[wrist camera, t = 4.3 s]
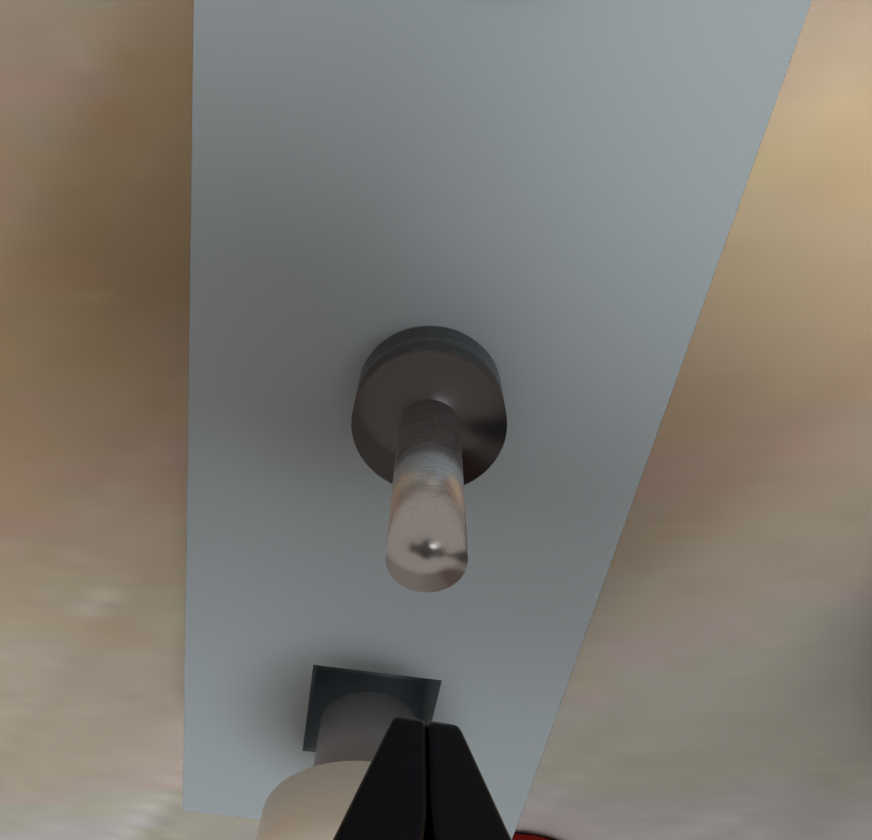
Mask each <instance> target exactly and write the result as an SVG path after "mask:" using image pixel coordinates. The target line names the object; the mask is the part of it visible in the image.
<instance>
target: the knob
mask: <svg viewBox="0 0 872 840" xmlns="http://www.w3.org/2000/svg"><path fill="white" fill-rule="evenodd" d="M396 716H403V717H409V718H415V716H414V714H413V712H412V711H411V709H410V708H409V707H408V706H407V705H405V704H404V703H403V702H401V701H400V700H398V699H396V698H394V697H391V696H389V695H385V694H382V693H376V692H358V693H352V694H348V695H345V696H343V697H340V698H338V699H337V700H335V701H333V702H332V703H331V704H330V705H329V706H328V707H327V708H326V709H325V711H324V712H323V715H322V718H321V722H320V728H319V734H318V740H317V747H316V753H315V759H314V765H313V767H310V768H307V769H304V770H302V771H300V772H297V773H295V774H294V775H292V776H290V777H288V778H287V779H285V780H284V781H283V782H281V783H280V784H279V785H278V786H277V787H276V788H275V789H274V790H273V791H272V792H271V793H270V795H269V796H268V798H267V799H266V802H265V804H264V806H263V811H262V815H261V820H260V824H259V829H258V833H257V838H256V840H333V838H334V836H335V834H336V832H337V830H338V828H339V826H340V824H341V822H342V820H343V818H344V816H345V814H346V812H347V810H348V808H349V806H350V804H351V802H352V800H353V798H354V796H355V794H356V791H357V789H358V787H359V785H360V783H361V781H362V779H363V777H364V775H365V773H366V771H367V769H368V767H369V765H370V763H371V761H372V759H373V757H374V755H375V753H376V751H377V749H378V747H379V745H380V743H381V741H382V739H383V736H384V734H385V732H386V730H387V728H388V726H389V724H390V722H391V721H392V719H393V718H394V717H396Z"/></svg>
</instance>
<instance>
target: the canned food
mask: <svg viewBox="0 0 872 840" xmlns="http://www.w3.org/2000/svg"><path fill="white" fill-rule="evenodd" d="M512 840H550V839H547V838H543V837H538V836H534V835H527V834H515V833H514V835H513V838H512Z"/></svg>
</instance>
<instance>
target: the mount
mask: <svg viewBox="0 0 872 840" xmlns="http://www.w3.org/2000/svg"><path fill="white" fill-rule="evenodd" d="M811 1H812V0H194V24H193V98H192V172H191V246H190V319H189V393H188V467H187V541H186V615H185V688H184V762H183V811H188V812H197V813H207V814H216V815H226V816H235V817H245V818H254V819H261V815H262V811H263V806H264V804H265V802H266V799H267V798H268V796H269V795H270V793H271V792H272V791H273V790H274V789H275V788H276V787H277V786H278V785H279V784H280V783H281V782H283V781H284V780H285V779H287V778H288V777H290V776H292V775H294V774H295V773H297V772H300V771H302V770H304V769H307V768H310V767H313V765H314V759H315V753H316V747H317V740H318V734H319V728H320V722H321V718H322V715H323V712H324V711H325V709H326V708H327V707H328V706H329V705H330V704H331V703H332V702H333V701H335V700H337V699H338V698H340V697H343V696H345V695H348V694H352V693H358V692H376V693H382V694H385V695H389V696H391V697H394V698H396V699H398V700H400V701H401V702H403V703H404V704H405V705H407V706H408V707H409V708H410V709H411V711H412V712H413V714H414V716H415V718H416V719H421V720H423V721H424V722H425V725H426V724H427V723H428V722H430V721H435V722H441V723H448V724H454V725H456V726H458V727H459V728H460V730H461V731H462V733H463V735H464V737H465V740H466V742H467V744H468V746H469V748H470V751H471V753H472V755H473V757H474V759H475V761H476V764H477V766H478V768H479V770H480V772H481V774H482V777H483V779H484V781H485V783H486V785H487V788H488V790H489V792H490V794H491V796H492V798H493V801H494V803H495V805H496V807H497V809H498V811H499V814H500V816H501V818H502V820H503V822H504V825H505V827H506V829H507V831H508V833H509V835H510V838H511V840H512V838H513V835H514V833H515V830H516V827H517V824H518V821H519V819H520V816H521V813H522V810H523V807H524V805H525V802H526V799H527V796H528V793H529V791H530V788H531V785H532V782H533V779H534V777H535V774H536V771H537V768H538V765H539V763H540V760H541V757H542V754H543V751H544V749H545V746H546V743H547V740H548V737H549V735H550V732H551V729H552V726H553V723H554V721H555V718H556V715H557V712H558V709H559V707H560V704H561V701H562V698H563V695H564V693H565V690H566V687H567V684H568V681H569V679H570V676H571V673H572V670H573V667H574V665H575V662H576V659H577V656H578V653H579V651H580V648H581V645H582V642H583V639H584V637H585V634H586V631H587V628H588V625H589V623H590V620H591V617H592V614H593V611H594V609H595V606H596V603H597V600H598V597H599V595H600V592H601V589H602V586H603V583H604V581H605V578H606V575H607V572H608V569H609V567H610V564H611V561H612V558H613V555H614V553H615V550H616V547H617V544H618V541H619V539H620V536H621V533H622V530H623V527H624V525H625V522H626V519H627V516H628V513H629V511H630V508H631V505H632V502H633V499H634V497H635V494H636V491H637V488H638V485H639V483H640V480H641V477H642V474H643V471H644V469H645V466H646V463H647V460H648V457H649V455H650V452H651V449H652V446H653V443H654V441H655V438H656V435H657V432H658V429H659V427H660V424H661V421H662V418H663V415H664V413H665V410H666V407H667V404H668V401H669V399H670V396H671V393H672V390H673V387H674V385H675V382H676V379H677V376H678V373H679V371H680V368H681V365H682V362H683V359H684V357H685V354H686V351H687V348H688V345H689V343H690V340H691V337H692V334H693V331H694V329H695V326H696V323H697V320H698V317H699V315H700V312H701V309H702V306H703V303H704V301H705V298H706V295H707V292H708V289H709V287H710V284H711V281H712V278H713V275H714V273H715V270H716V267H717V264H718V261H719V259H720V256H721V253H722V250H723V247H724V245H725V242H726V239H727V236H728V233H729V231H730V228H731V225H732V222H733V219H734V217H735V214H736V211H737V208H738V205H739V203H740V200H741V197H742V194H743V191H744V189H745V186H746V183H747V180H748V177H749V175H750V172H751V169H752V166H753V163H754V161H755V158H756V155H757V152H758V149H759V147H760V144H761V141H762V138H763V135H764V133H765V130H766V127H767V124H768V121H769V119H770V116H771V113H772V110H773V107H774V105H775V102H776V99H777V96H778V93H779V91H780V88H781V85H782V82H783V79H784V77H785V74H786V71H787V68H788V65H789V63H790V60H791V57H792V54H793V51H794V49H795V46H796V43H797V40H798V37H799V35H800V32H801V29H802V26H803V23H804V21H805V18H806V15H807V12H808V9H809V7H810V4H811ZM419 326H440V327H446V328H450V329H454V330H456V331H459V332H462V333H463V334H465V335H467V336H469V337H471V338H472V339H474V340H475V341H477V342H478V343H479V344H480V345H481V346H482V347H483V348H484V349H485V350H486V351H487V352H488V354H489V355H490V356H491V358H492V359H493V361H494V363H495V365H496V367H497V369H498V372H499V376H500V380H501V386H502V392H503V397H504V403H505V409H506V415H507V433H506V439H505V442H504V445H503V448H502V450H501V452H500V454H499V456H498V457H497V459H496V460H495V462H494V463H493V464H492V465H491V466H490V467H489V469H488V470H487V471H485V472H484V473H483V474H482V475H481V476H479V477H478V478H476V479H475V480H473V481H472V482H470V483H468V484H466V485H464V498H465V516H466V533H467V551H468V565H467V568H466V571H465V573H464V575H463V576H462V578H461V579H460V580H459V581H458V582H456V583H455V584H454V585H452V586H451V587H449V588H447V589H444V590H441V591H437V592H417V591H413V590H410V589H407V588H405V587H403V586H401V585H400V584H399V583H397V582H396V581H395V580H394V579H393V578H392V577H391V575H390V574H389V572H388V570H387V567H386V562H385V557H386V547H387V536H388V526H389V515H390V505H391V495H392V484H391V483H389V482H388V481H386V480H384V479H383V478H381V477H380V476H379V475H377V474H376V473H375V472H374V471H373V470H372V469H371V468H369V467H368V465H367V464H366V463H365V462H364V460H363V459H362V457H361V456H360V454H359V452H358V451H357V448H356V446H355V443H354V440H353V436H352V428H351V419H352V412H353V407H354V402H355V398H356V393H357V388H358V384H359V379H360V374H361V371H362V369H363V366H364V364H365V362H366V360H367V358H368V357H369V356H370V354H371V353H372V351H373V350H374V349H375V348H376V347H377V346H378V345H379V344H380V343H382V342H383V341H384V340H385V339H387V338H388V337H390V336H392V335H394V334H396V333H398V332H400V331H403V330H406V329H409V328H413V327H419Z"/></svg>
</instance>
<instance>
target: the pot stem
mask: <svg viewBox="0 0 872 840" xmlns="http://www.w3.org/2000/svg"><path fill="white" fill-rule="evenodd" d="M351 428H352V436H353V440H354V443H355V446H356V448H357V451H358V452H359V454H360V456H361V457H362V459H363V460H364V462H365V463H366V464H367V465H368V467H369V468H371V469H372V470H373V471H374V472H375V473H376V474H377V475H379V476H380V477H381V478H383V479H384V480H386V481H388V482H389V483H391V484H392V495H391V505H390V515H389V526H388V536H387V547H386V557H385V562H386V567H387V570H388V572H389V574H390V575H391V577H392V578H393V579H394V580H395V581H396V582H397V583H399V584H400V585H401V586H403V587H405V588H407V589H410V590H413V591H417V592H437V591H441V590H444V589H447V588H449V587H451V586H452V585H454V584H455V583H456V582H458V581H459V580H460V579H461V578H462V576H463V575H464V573H465V571H466V568H467V565H468V551H467V533H466V516H465V498H464V485H466V484H468V483H470V482H472V481H473V480H475V479H476V478H478V477H479V476H481V475H482V474H483V473H484V472H485V471H487V470H488V469H489V467H490V466H491V465H492V464H493V463H494V462H495V460H496V459H497V457H498V456H499V454H500V452H501V450H502V448H503V445H504V442H505V439H506V433H507V415H506V409H505V403H504V397H503V392H502V386H501V380H500V376H499V372H498V369H497V367H496V365H495V363H494V361H493V359H492V358H491V356H490V355H489V354H488V352H487V351H486V350H485V349H484V348H483V347H482V346H481V345H480V344H479V343H478V342H477V341H475V340H474V339H472V338H471V337H469V336H467V335H465V334H463V333H462V332H459V331H456V330H454V329H450V328H446V327H440V326H419V327H413V328H409V329H406V330H403V331H400V332H398V333H396V334H394V335H392V336H390V337H388V338H387V339H385V340H384V341H383V342H382V343H380V344H379V345H378V346H377V347H376V348H375V349H374V350H373V351H372V353H371V354H370V356H369V357H368V358H367V360H366V362H365V364H364V366H363V369H362V371H361V374H360V379H359V384H358V388H357V393H356V398H355V402H354V407H353V412H352V419H351Z"/></svg>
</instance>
